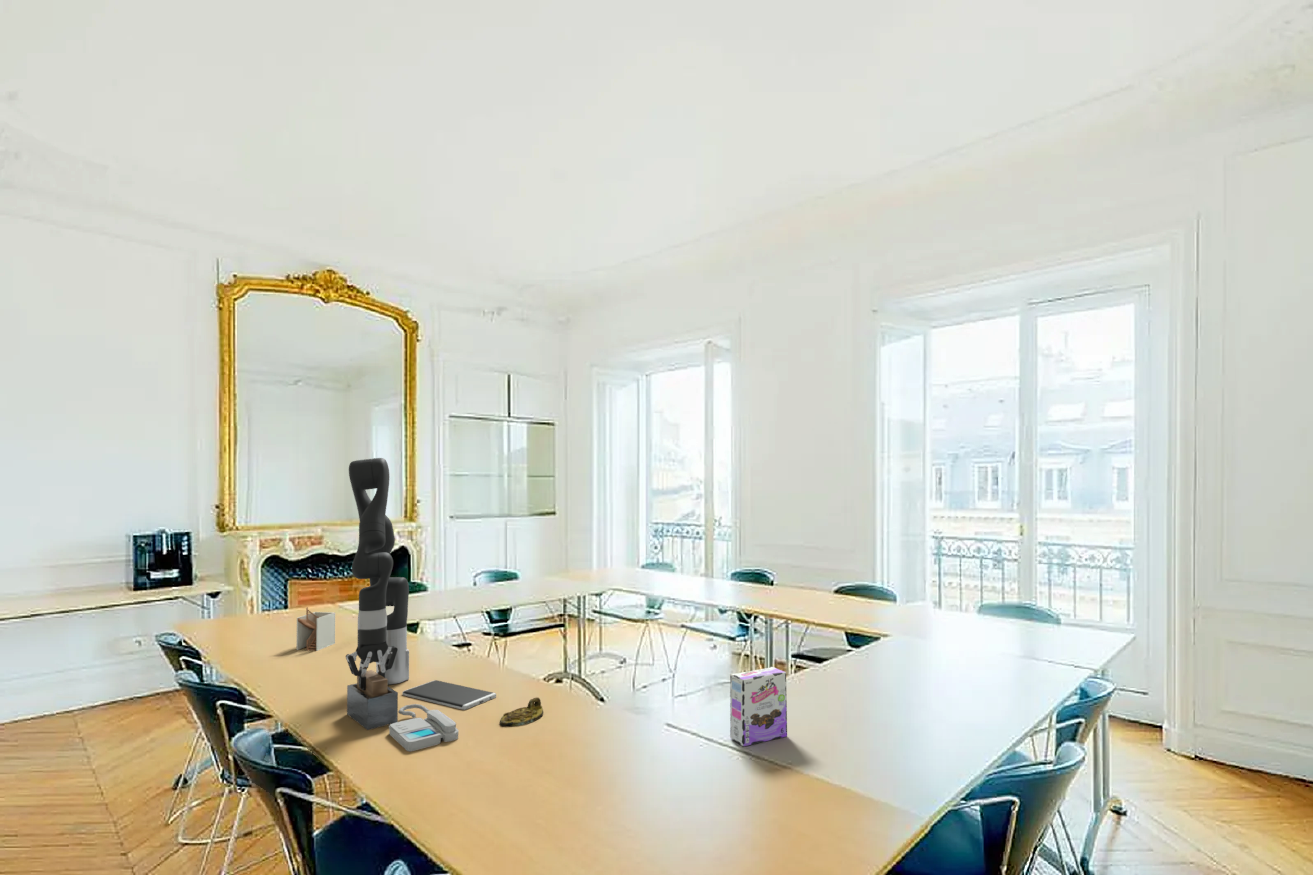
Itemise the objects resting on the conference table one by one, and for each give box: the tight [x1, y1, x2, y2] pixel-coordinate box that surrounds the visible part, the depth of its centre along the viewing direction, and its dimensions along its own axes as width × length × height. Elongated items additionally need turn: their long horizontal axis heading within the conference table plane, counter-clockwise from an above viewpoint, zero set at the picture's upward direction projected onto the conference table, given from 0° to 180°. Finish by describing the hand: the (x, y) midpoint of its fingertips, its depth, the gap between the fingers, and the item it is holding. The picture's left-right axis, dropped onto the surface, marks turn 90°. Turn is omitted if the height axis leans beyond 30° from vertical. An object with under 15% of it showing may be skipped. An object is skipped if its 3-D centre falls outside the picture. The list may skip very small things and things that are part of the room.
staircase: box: [296, 607, 336, 652], centre depth 270 cm, size 9×11×17 cm
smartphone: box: [402, 679, 497, 711], centre depth 211 cm, size 13×27×2 cm, turn 59°
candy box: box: [729, 666, 788, 747], centre depth 177 cm, size 14×6×16 cm, turn 117°
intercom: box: [388, 703, 459, 752], centre depth 183 cm, size 13×4×25 cm
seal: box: [499, 696, 544, 727], centre depth 192 cm, size 9×5×15 cm
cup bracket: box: [346, 683, 399, 731], centre depth 193 cm, size 8×16×8 cm, turn 42°
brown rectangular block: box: [356, 669, 389, 698], centre depth 193 cm, size 4×12×5 cm, turn 42°
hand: (371, 687), depth 193 cm, fingers closed on brown rectangular block, 4 cm apart
